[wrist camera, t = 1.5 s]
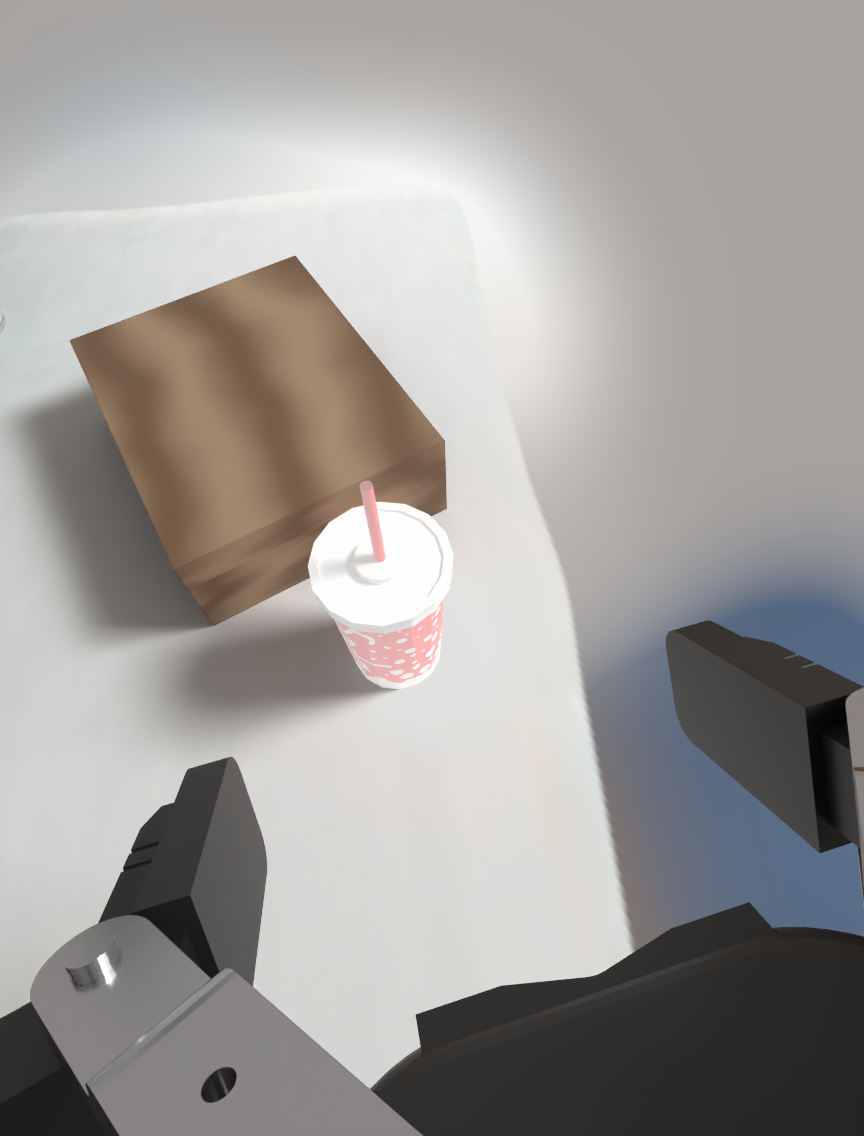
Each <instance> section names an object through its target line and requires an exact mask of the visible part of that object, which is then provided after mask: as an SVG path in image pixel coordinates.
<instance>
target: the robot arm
mask: <svg viewBox="0 0 864 1136" xmlns="http://www.w3.org/2000/svg"><path fill="white" fill-rule="evenodd" d="M666 649H667V656H668V662H669V669H670V675H671V682H672V688H673V694H674V701H675V707H676V713H677V716H678V719H679V722H680V724H681V727H682V729H683V731H684V732H685V734H686V735H687V737H688V738H689V740H690V741H691V742H692V743H693V744H694V745H695V746H697V747H698V748H699V749H700V750H701V751H702V752H704V753H705V754H706V755H707V756H708V757H709V758H710V759H712V760H713V761H714V762H715V763H716V764H717V765H719V766H720V767H721V768H722V769H723V770H724V771H725V772H727V773H728V774H729V775H730V776H731V777H732V778H734V779H735V780H736V781H737V782H738V783H739V784H741V785H742V786H743V787H744V788H745V789H746V790H748V791H749V792H750V793H751V794H752V795H753V796H754V797H756V798H757V799H758V800H759V801H760V802H761V803H762V804H764V805H765V806H766V807H767V808H768V809H769V810H771V811H772V812H773V813H774V814H775V815H776V816H778V817H779V818H780V819H781V820H782V821H783V822H785V823H786V824H787V825H788V826H789V827H790V828H791V829H792V830H794V831H795V832H796V833H797V834H798V835H800V836H801V837H802V838H803V839H804V840H805V841H807V843H809V844H810V845H811V846H812V847H813V848H815V849H816V850H817V851H818V852H819V853H821V852H824V851H828V850H831V849H834V848H837V847H840V846H843V845H846V844H849V843H852V842H853V843H854V844H855V845H856V846H858V855H859V866H860V876H861V885H862V894H863V904H864V687H863V686H861V685H859V684H857V683H855V682H853V681H851V680H849V679H847V678H845V677H843V676H840V675H839V674H837V673H835V672H833V671H831V670H829V669H826V668H824V667H822V666H820V665H818V664H817V665H814V663H813V662H812V661H810V660H808V659H806V658H804V657H802V656H800V655H799V656H796V654H795V653H794V652H792V651H790V650H788V649H785V648H783V647H781V646H779V645H777V644H775V643H772V642H767V641H763V640H758V639H753V638H748V637H742V636H740V635H738V634H736V633H734V632H732V631H730V630H728V629H726V628H724V627H722V626H720V625H718V624H716V623H714V622H712V621H704V622H700V623H697V624H693V625H690V626H686V627H683V628H679V629H676V630H673V631H670V632H668V634H667V637H666ZM131 851H132V853H131V854H129V856H128V858H127V860H126V862H125V865H124V867H123V870H124V872H121V874H120V876H119V878H118V880H117V882H116V885H115V887H114V889H113V891H112V894H111V896H110V898H109V900H108V903H107V905H106V907H105V909H104V912H103V914H102V916H101V918H100V920H99V923H98V924H96V925H94V926H92V927H90V928H88V929H87V930H85V931H83V932H82V933H80V934H78V935H77V936H75V937H74V938H72V939H71V940H70V941H68V942H67V943H66V944H64V945H63V946H62V947H61V948H60V949H59V950H57V951H56V952H55V953H54V954H53V955H52V956H51V957H50V958H49V959H48V961H47V962H46V963H45V964H44V965H43V967H42V968H41V969H40V971H39V972H38V974H37V975H36V977H35V979H34V982H33V984H32V987H31V991H30V999H31V1002H29V1003H28V1004H26V1005H24V1006H22V1007H21V1008H19V1009H17V1010H15V1011H14V1012H12V1013H10V1014H8V1015H6V1016H4V1017H2V1018H0V1136H864V937H862V936H859V935H855V934H851V933H846V932H840V931H834V930H828V929H819V928H807V927H779V928H778V927H777V928H772V927H771V926H770V925H769V924H768V923H767V922H766V921H765V919H764V918H763V917H762V916H761V915H760V914H759V913H758V911H756V909H755V908H754V907H753V906H752V905H751V904H750V903H746V904H743V905H740V906H737V907H734V908H731V909H728V910H725V911H722V912H719V913H716V914H713V915H710V916H707V917H704V918H702V919H698V920H695V921H692V922H690V923H687V924H683V925H681V926H678V927H675V928H672V929H670V930H668V931H666V932H665V933H663V934H662V935H660V936H659V937H657V938H656V939H654V940H653V941H651V942H649V943H648V944H646V945H645V946H643V947H642V948H640V949H638V950H637V951H635V952H634V953H632V954H631V955H629V956H628V957H626V958H624V959H623V960H621V961H620V962H618V963H617V964H615V965H613V966H612V967H610V968H609V969H607V970H606V971H604V972H602V973H600V974H598V975H595V976H591V977H585V978H575V979H565V980H555V981H545V982H535V983H525V984H515V985H505V986H499V987H496V988H493V989H491V990H488V991H485V992H482V993H479V994H476V995H473V996H470V997H467V998H464V999H461V1000H458V1001H455V1002H452V1003H449V1004H446V1005H443V1006H440V1007H437V1008H434V1009H431V1010H428V1011H425V1012H422V1013H419V1014H416V1019H417V1026H418V1032H419V1038H420V1045H421V1047H420V1048H418V1049H417V1050H415V1051H414V1052H412V1053H411V1054H409V1055H408V1056H406V1057H405V1058H404V1059H403V1060H401V1061H400V1062H399V1063H398V1064H396V1065H395V1066H394V1067H393V1068H391V1069H390V1070H389V1071H388V1072H387V1073H386V1074H385V1075H384V1076H383V1077H382V1078H381V1079H380V1080H379V1081H378V1082H377V1083H376V1084H375V1085H374V1086H373V1087H372V1088H371V1089H369V1088H368V1087H367V1086H365V1085H364V1084H363V1083H362V1082H361V1081H360V1080H359V1079H357V1078H356V1077H355V1076H354V1075H353V1074H352V1073H351V1072H349V1071H348V1070H347V1069H346V1068H345V1067H344V1066H343V1065H341V1064H340V1063H339V1062H338V1061H337V1060H336V1059H335V1058H333V1057H332V1056H331V1055H330V1054H329V1053H328V1052H327V1051H325V1050H324V1049H323V1048H322V1047H321V1046H320V1045H319V1044H317V1043H316V1042H315V1041H314V1040H313V1039H312V1038H311V1037H309V1036H308V1035H307V1034H306V1033H305V1032H304V1031H303V1030H301V1029H300V1028H299V1027H298V1026H297V1025H296V1024H295V1023H293V1022H292V1021H291V1020H290V1019H289V1018H288V1017H287V1016H286V1015H284V1014H283V1013H282V1012H281V1011H280V1010H279V1009H278V1008H276V1007H275V1006H274V1005H273V1004H272V1003H271V1002H270V1001H268V1000H267V999H266V998H265V997H264V996H263V995H262V994H260V993H259V992H258V991H257V990H256V989H255V988H254V987H253V981H254V973H255V964H256V956H257V948H258V940H259V932H260V924H261V916H262V908H263V900H264V892H265V883H266V875H267V858H266V851H265V845H264V841H263V837H262V833H261V830H260V827H259V824H258V821H257V819H256V816H255V813H254V810H253V807H252V804H251V801H250V798H249V795H248V792H247V789H246V786H245V783H244V780H243V777H242V774H241V772H240V769H239V766H238V764H237V762H236V761H235V759H234V758H233V757H228V758H225V759H221V760H218V761H214V762H211V763H207V764H204V765H200V766H197V767H194V768H190V769H188V770H187V772H186V774H185V776H184V779H183V781H182V784H181V787H180V789H179V792H178V794H177V797H176V799H175V802H174V803H171V804H168V805H165V806H161V807H160V808H159V810H158V811H157V812H156V813H155V814H154V815H153V816H152V817H151V818H150V819H149V820H148V821H147V822H146V823H145V824H144V825H143V826H142V828H141V829H140V831H139V833H138V836H137V838H136V840H135V842H134V845H133V847H132V849H131Z"/></svg>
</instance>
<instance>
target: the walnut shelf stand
mask: <svg viewBox="0 0 864 1136" xmlns="http://www.w3.org/2000/svg"><path fill="white" fill-rule="evenodd" d="M70 343H71V345H72V347H73V349H74V351H75V354H76V356H77V358H78V360H79V362H80V365H81V367H82V369H83V371H84V373H85V376H86V378H87V380H88V382H89V384H90V387H91V389H92V391H93V393H94V395H95V398H96V400H97V402H98V404H99V407H100V409H101V411H102V413H103V415H104V418H105V420H106V422H107V424H108V426H109V429H110V431H111V433H112V435H113V437H114V440H115V442H116V444H117V446H118V448H119V451H120V453H121V455H122V457H123V459H124V462H125V464H126V466H127V468H128V470H129V473H130V475H131V477H132V479H133V481H134V484H135V486H136V488H137V490H138V492H139V495H140V497H141V499H142V501H143V503H144V506H145V508H146V510H147V512H148V515H149V517H150V519H151V521H152V523H153V526H154V528H155V530H156V532H157V534H158V537H159V539H160V541H161V543H162V545H163V548H164V550H165V552H166V554H167V556H168V559H169V561H170V563H171V565H172V567H173V570H174V571H175V572H176V574H177V575H178V577H179V578H180V579H181V581H182V582H183V584H184V585H185V586H186V588H187V589H188V591H189V592H190V593H191V595H192V596H193V598H194V599H195V600H196V602H197V603H198V605H199V606H200V608H201V609H202V610H203V612H204V613H205V615H206V616H207V617H208V619H209V620H210V622H211V623H212V624H213V626H214V625H216V624H218V623H220V622H222V621H224V620H226V619H228V618H230V617H232V616H234V615H236V614H238V613H240V612H242V611H244V610H246V609H248V608H250V607H252V606H254V605H256V604H258V603H260V602H262V601H264V600H266V599H268V598H270V597H272V596H274V595H275V594H277V593H279V592H281V591H283V590H285V589H287V588H289V587H291V586H293V585H295V584H297V583H299V582H301V581H303V580H305V579H307V578H309V577H310V575H309V570H308V563H309V559H310V555H311V552H312V548H313V544H314V542H315V540H316V539H317V538H318V536H319V535H320V534H321V533H322V531H323V530H324V529H325V527H326V526H327V525H328V523H329V522H331V521H332V520H334V519H335V518H337V517H339V516H340V515H342V514H343V513H345V512H347V511H348V510H350V509H351V508H355V507H359V506H363V500H362V496H361V491H360V484H361V482H363V481H370V482H371V483H372V484H373V489H374V494H375V500H376V502H388V503H400V504H406V505H409V506H411V507H413V508H415V509H418V510H420V511H422V512H424V513H427V514H429V515H430V516H432V515H434V514H436V513H438V512H440V511H442V510H444V509H446V508H447V501H446V466H445V440H444V439H443V438H442V437H441V435H440V434H439V433H438V432H437V430H436V429H435V428H434V427H433V426H432V424H431V423H430V422H429V421H428V419H427V418H426V417H425V416H424V414H423V413H422V412H421V411H420V409H419V408H418V407H417V406H416V405H415V403H414V402H413V401H412V400H411V398H410V397H409V396H408V395H407V393H406V392H405V391H404V390H403V388H402V387H401V386H400V385H399V383H398V382H397V381H396V380H395V379H394V377H393V376H392V375H391V374H390V372H389V371H388V370H387V369H386V367H385V366H384V365H383V364H382V362H381V361H380V360H379V359H378V357H377V356H376V355H375V354H374V353H373V351H372V350H371V349H370V348H369V346H368V345H367V344H366V343H365V341H364V340H363V339H362V338H361V336H360V335H359V334H358V333H357V332H356V330H355V329H354V328H353V327H352V325H351V324H350V323H349V322H348V320H347V319H346V318H345V317H344V315H343V314H342V313H341V312H340V310H339V309H338V308H337V307H336V306H335V304H334V303H333V302H332V301H331V299H330V298H329V297H328V296H327V294H326V293H325V292H324V291H323V289H322V288H321V287H320V286H319V284H318V283H317V282H316V281H315V280H314V278H313V277H312V276H311V275H310V273H309V272H308V271H307V270H306V268H305V267H304V266H303V265H302V263H301V262H300V261H299V260H298V258H297V257H296V256H293V257H290V258H287V259H285V260H282V261H279V262H277V263H274V264H271V265H269V266H266V267H263V268H261V269H258V270H255V271H253V272H250V273H248V274H245V275H242V276H240V277H237V278H234V279H232V280H229V281H226V282H224V283H221V284H218V285H216V286H213V287H210V288H208V289H205V290H202V291H200V292H197V293H194V294H192V295H189V296H186V297H184V298H181V299H178V300H176V301H173V302H170V303H168V304H165V305H162V306H160V307H157V308H154V309H152V310H149V311H146V312H144V313H141V314H138V315H136V316H133V317H130V318H128V319H125V320H122V321H120V322H117V323H114V324H112V325H109V326H106V327H104V328H101V329H98V330H96V331H93V332H90V333H88V334H85V335H82V336H80V337H77V338H75V339H72V340H70Z"/></svg>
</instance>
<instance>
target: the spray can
mask: <svg viewBox="0 0 864 1136" xmlns="http://www.w3.org/2000/svg"><path fill="white" fill-rule="evenodd" d="M4 324H5V318H4V315H3V313H2V312H1V310H0V332H1V330H2V329H3V327H4Z"/></svg>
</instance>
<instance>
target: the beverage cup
mask: <svg viewBox="0 0 864 1136" xmlns="http://www.w3.org/2000/svg"><path fill="white" fill-rule="evenodd" d="M360 491H361V496H362V500H363V506H359V507H355V508H351V509H350V510H348V511H347V512H345V513H343V514H342V515H340V516H339V517H337V518H335V519H334V520H332V521H331V522H329V523H328V525H327V526H326V527H325V529H324V530H323V531H322V533H321V534H320V535H319V536H318V538H317V539H316V540H315V542H314V544H313V548H312V552H311V555H310V559H309V563H308V570H309V575H310V580H311V584H312V589H313V592H314V594H315V595H316V597H317V600H318V601H319V602H320V604H321V605H322V606H323V607H324V609H325V610H326V611H327V612H328V614H329V615H330V616H331V618H332V619H334V621H335V623H336V625H337V626H338V628H339V630H340V632H341V634H342V636H343V638H344V640H345V642H346V644H347V646H348V648H349V650H350V652H351V654H352V656H353V658H354V660H355V662H356V664H357V666H358V667H359V669H360V670H361V671H362V673H363V674H364V675H365V676H366V678H367V679H368V680H370V681H371V682H373V683H375V684H377V685H379V686H381V687H383V688H391V689H403V688H407V687H410V686H414V685H417V684H418V683H420V682H421V681H422V680H424V679H425V678H426V677H428V676H429V675H430V674H431V673H432V671H433V669H434V668H435V666H436V664H437V663H438V661H439V654H440V646H441V635H442V623H443V611H444V599H445V595H446V594H447V592H448V591H449V589H450V583H451V576H452V568H453V558H454V557H453V552H452V549H451V546H450V543H449V540H448V537H447V534H446V532H445V531H444V530H443V529H442V528H441V527H440V526H439V525H438V524H437V522H436V521H435V520H434V519H433V518H432V517H431V516H430V515H429V514H427V513H424V512H422V511H420V510H418V509H415V508H413V507H411V506H409V505H406V504H400V503H388V502H376V500H375V494H374V489H373V484H372V483H371V482H370V481H363V482H361V484H360Z"/></svg>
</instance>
